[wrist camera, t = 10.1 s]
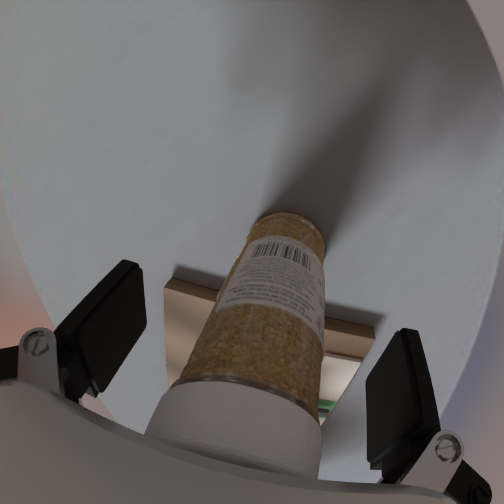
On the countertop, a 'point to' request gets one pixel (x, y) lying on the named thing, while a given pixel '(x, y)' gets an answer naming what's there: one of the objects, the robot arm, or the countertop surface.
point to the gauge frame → (199, 308)
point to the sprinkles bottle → (257, 359)
